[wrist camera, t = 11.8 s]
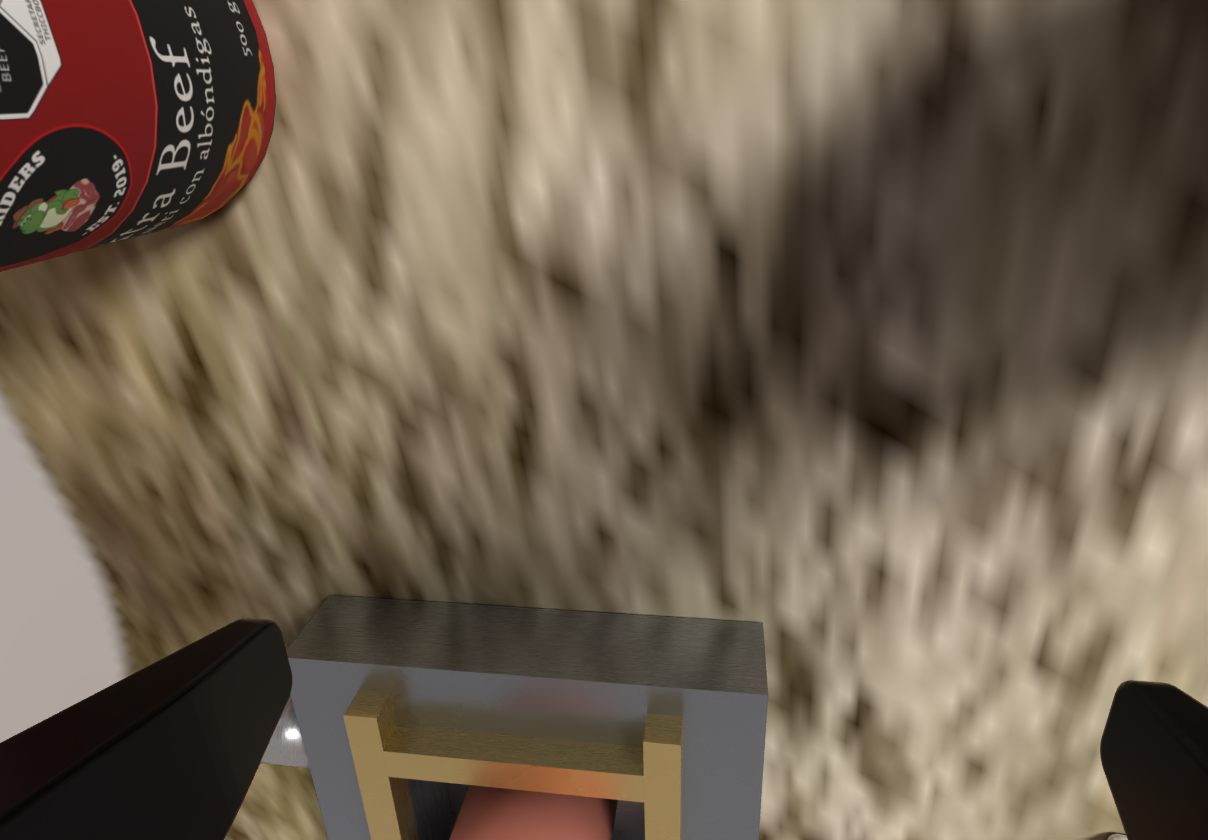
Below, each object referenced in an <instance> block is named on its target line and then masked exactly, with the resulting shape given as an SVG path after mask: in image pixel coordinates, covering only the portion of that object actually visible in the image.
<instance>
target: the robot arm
mask: <svg viewBox="0 0 1208 840" xmlns="http://www.w3.org/2000/svg"><path fill="white" fill-rule="evenodd" d="M291 689H292V672H291V668H290V664H289V660H288V656H287V652H286V648H285V644H284V640H283V636H282V632H281V629H280V627H279V626H278V625H277V623H276V622H274V621H271V620H263V619H248V618H246V619H239V620H236V621H234V622H232V623H230V624H228V625H227V626H225V627H223V628H221V629H219V630H217V631H215V632H213V633H211V634H209V635H207V636H205V637H203V638H202V639H200V640H198V641H196V642H194V643H192V644H190V645H188V646H186V647H184V648H182V649H180V650H178V651H177V652H175V653H173V654H171V655H169V656H167V657H165V658H163V659H161V660H159V661H157V662H155V663H153V664H152V665H150V666H148V667H146V668H144V669H142V670H140V671H138V672H136V673H134V674H132V675H130V676H128V677H126V678H125V679H123V680H121V681H119V682H117V683H115V684H113V685H111V686H109V687H107V688H105V689H104V690H101V691H100V692H98V693H96V694H94V695H92V696H90V697H88V698H86V699H84V700H82V701H80V702H78V703H76V704H75V705H73V706H71V707H69V708H67V709H65V710H63V711H61V712H59V713H57V714H55V715H53V716H52V717H49V718H48V719H46V720H44V721H42V722H40V723H38V724H36V725H34V726H33V727H31V728H28V729H26V730H25V731H23V732H21V733H19V734H17V735H15V736H13V737H11V738H9V739H7V740H5V741H3V742H1V743H0V840H224V838H225V836H226V834H227V832H228V831H229V829H230V827H231V825H232V823H233V821H234V819H235V817H236V815H237V813H238V811H239V809H240V807H241V804H242V802H243V800H244V798H245V796H246V793H247V791H248V789H249V787H250V784H251V782H252V780H253V778H254V776H255V773H256V771H257V769H258V767H259V764H260V762H261V760H262V758H263V755H264V753H265V751H266V749H267V746H268V744H269V742H270V740H271V737H272V735H273V733H274V731H275V728H276V726H277V724H278V722H279V719H280V717H281V715H282V713H283V710H284V708H285V706H286V704H287V702H288V699H289V696H290V693H291ZM1100 754H1101V761H1102V766H1103V769H1104V772H1105V775H1106V778H1107V781H1108V784H1109V787H1110V790H1111V792H1112V795H1113V798H1114V801H1115V804H1116V807H1117V810H1118V813H1119V816H1120V819H1121V822H1122V824H1123V827H1124V830H1125V833H1126V836H1127V839H1128V840H1208V707H1206V706H1205V705H1203V704H1202V703H1200V702H1199V701H1197V700H1196V699H1194V698H1192V697H1191V696H1189V695H1188V694H1186V693H1185V692H1183V691H1182V690H1180V689H1178V688H1177V687H1175V686H1173V685H1170V684H1167V683H1161V682H1146V681H1132V680H1131V681H1126V682H1123V683H1121V684H1120V686H1119V687H1118V688H1117V690H1116V693H1115V696H1114V699H1113V702H1112V706H1111V709H1110V712H1109V715H1108V719H1107V722H1106V725H1105V729H1104V732H1103V735H1102V739H1101V745H1100Z"/></svg>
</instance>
